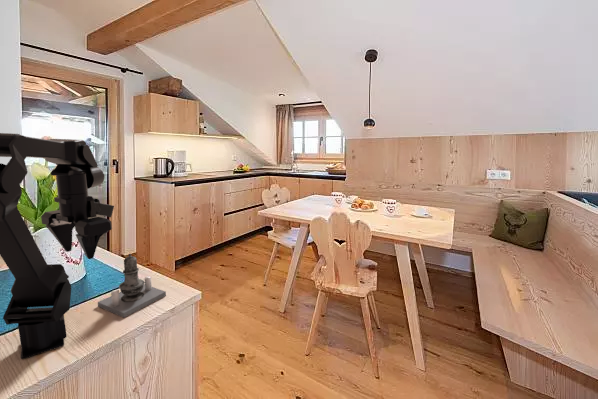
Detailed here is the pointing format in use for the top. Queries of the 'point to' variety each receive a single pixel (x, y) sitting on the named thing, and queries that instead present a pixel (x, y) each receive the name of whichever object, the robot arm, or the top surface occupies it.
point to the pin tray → (127, 308)
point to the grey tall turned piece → (131, 281)
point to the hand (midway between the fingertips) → (79, 254)
